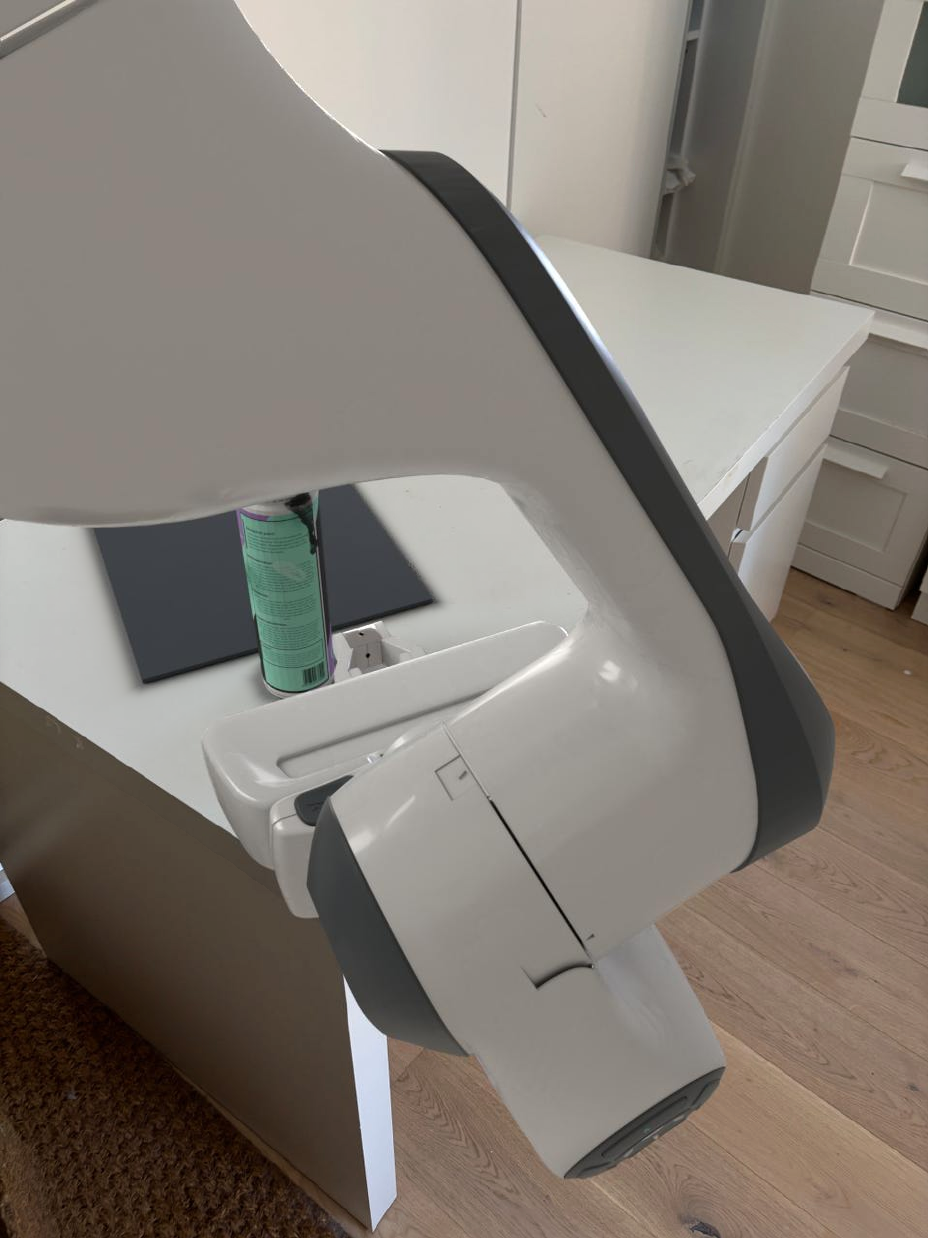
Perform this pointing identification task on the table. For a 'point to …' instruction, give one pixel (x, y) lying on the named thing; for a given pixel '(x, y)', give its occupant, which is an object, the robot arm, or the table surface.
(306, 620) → the spray can
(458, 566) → the table surface
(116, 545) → the mat
